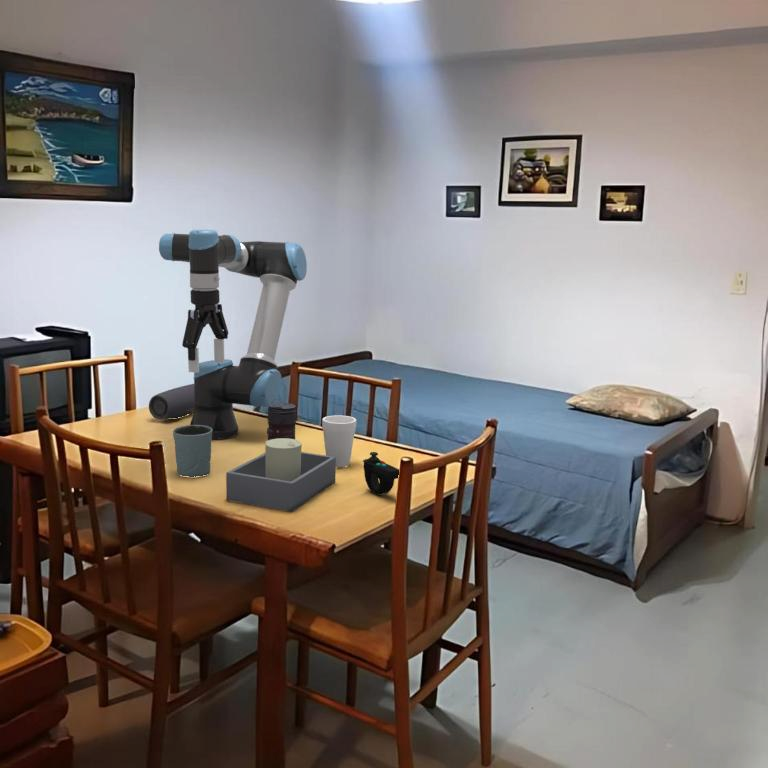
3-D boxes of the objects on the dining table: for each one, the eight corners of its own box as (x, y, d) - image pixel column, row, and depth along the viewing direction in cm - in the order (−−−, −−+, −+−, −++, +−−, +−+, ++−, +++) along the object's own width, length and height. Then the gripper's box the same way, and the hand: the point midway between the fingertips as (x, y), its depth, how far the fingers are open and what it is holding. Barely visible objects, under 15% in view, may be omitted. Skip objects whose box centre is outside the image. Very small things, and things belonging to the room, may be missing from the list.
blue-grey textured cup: (212, 466, 224) (212, 424, 222) (213, 478, 215) (212, 434, 212) (174, 468, 222) (173, 425, 220) (173, 479, 213) (172, 435, 210)
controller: (373, 486, 213) (374, 449, 211) (402, 499, 203) (403, 461, 201) (359, 488, 211) (360, 451, 209) (388, 503, 201) (389, 464, 199)
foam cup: (322, 469, 225) (323, 423, 223) (320, 459, 234) (320, 415, 232) (357, 469, 227) (358, 423, 224) (353, 459, 236) (354, 415, 233)
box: (274, 472, 221) (274, 447, 220) (335, 482, 215) (335, 456, 213) (226, 500, 199) (226, 472, 198) (292, 511, 193) (292, 483, 191)
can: (285, 495, 201) (286, 448, 198) (256, 488, 205) (257, 441, 203) (308, 486, 208) (309, 440, 206) (280, 478, 213) (280, 434, 211)
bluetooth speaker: (189, 407, 290) (189, 380, 288) (211, 411, 286) (211, 383, 284) (147, 421, 270) (146, 391, 268) (170, 425, 266) (169, 395, 264)
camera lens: (290, 460, 232) (291, 409, 229) (263, 458, 234) (263, 407, 231) (299, 453, 240) (299, 403, 237) (273, 450, 241) (273, 401, 238)
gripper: (192, 295, 205) (195, 377, 210) (239, 284, 228) (241, 359, 233) (166, 293, 207) (169, 375, 212) (215, 283, 230) (217, 357, 235)
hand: (207, 367), depth 223 cm, fingers open, 13 cm apart
